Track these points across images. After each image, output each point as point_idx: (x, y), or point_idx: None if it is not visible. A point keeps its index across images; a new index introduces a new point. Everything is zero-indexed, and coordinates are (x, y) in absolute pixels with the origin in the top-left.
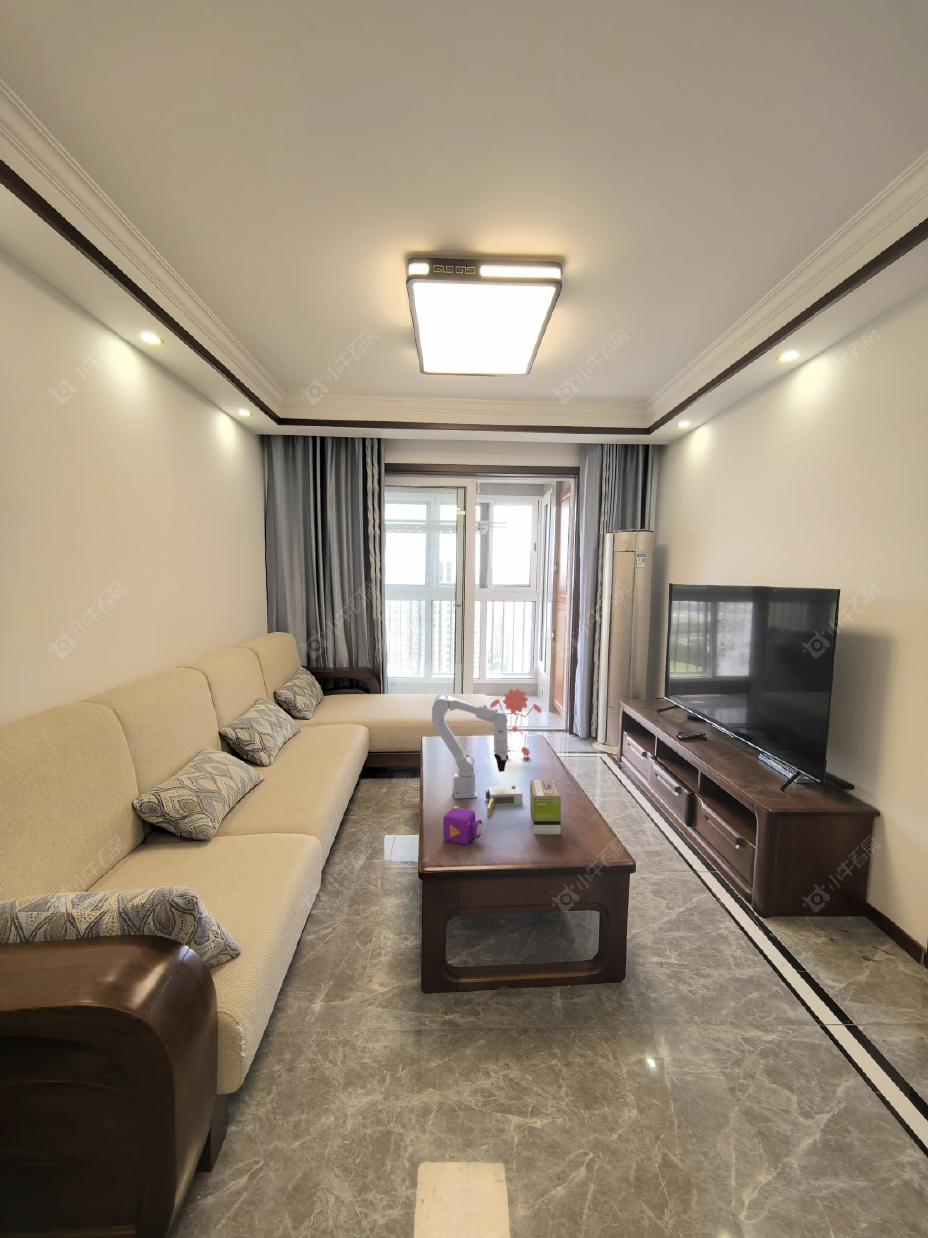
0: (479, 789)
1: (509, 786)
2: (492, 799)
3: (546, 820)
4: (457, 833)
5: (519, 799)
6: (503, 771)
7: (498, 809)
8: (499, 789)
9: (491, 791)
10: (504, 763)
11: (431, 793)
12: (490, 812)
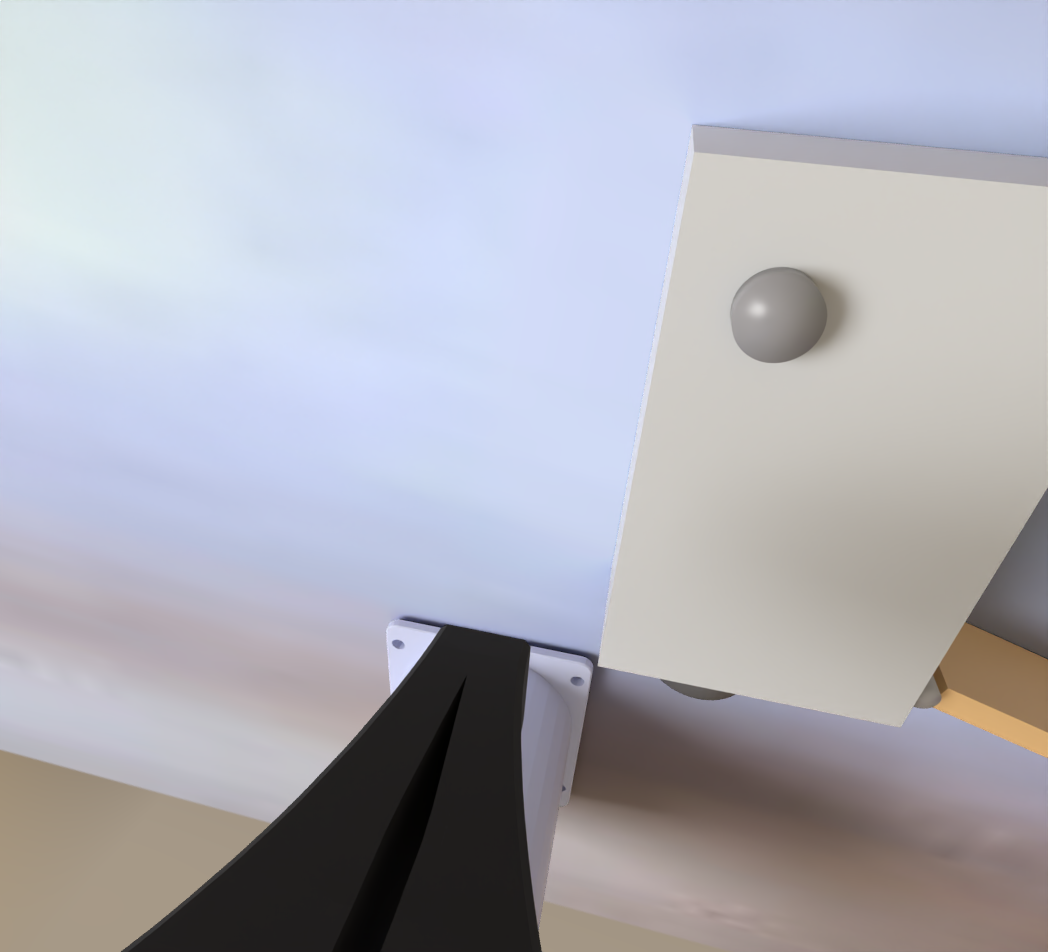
0: (363, 566)
1: (674, 369)
2: (983, 706)
3: None
4: None
5: None
6: (528, 653)
7: (1025, 566)
8: (750, 568)
9: (780, 683)
10: (520, 920)
11: None
12: None
